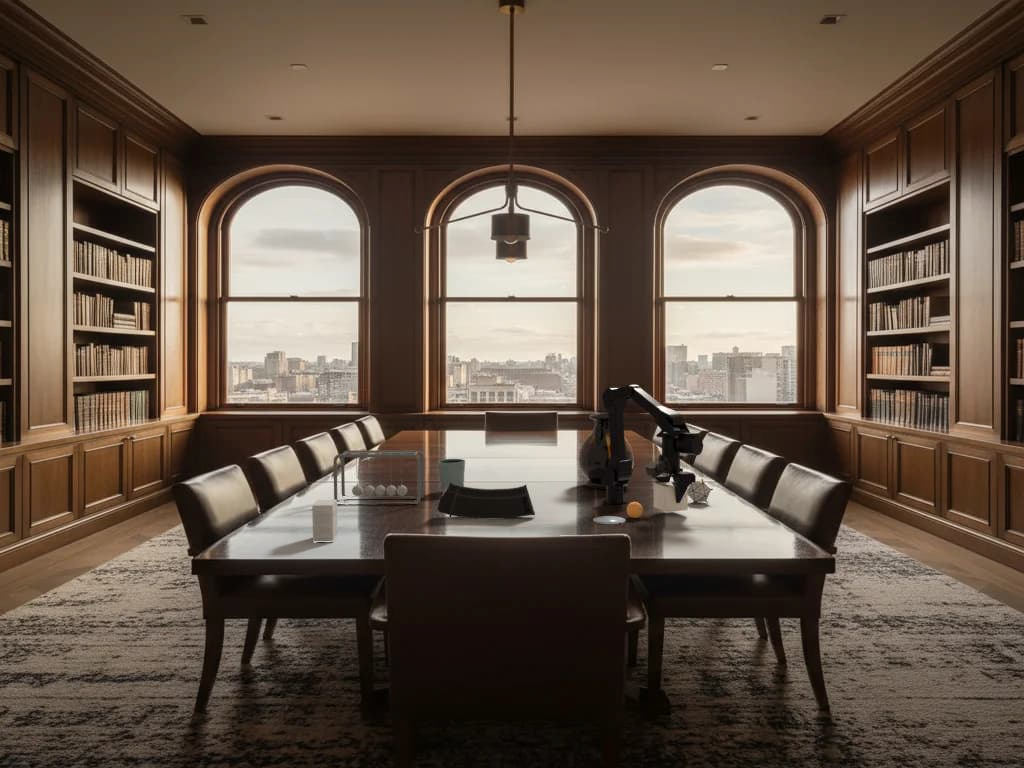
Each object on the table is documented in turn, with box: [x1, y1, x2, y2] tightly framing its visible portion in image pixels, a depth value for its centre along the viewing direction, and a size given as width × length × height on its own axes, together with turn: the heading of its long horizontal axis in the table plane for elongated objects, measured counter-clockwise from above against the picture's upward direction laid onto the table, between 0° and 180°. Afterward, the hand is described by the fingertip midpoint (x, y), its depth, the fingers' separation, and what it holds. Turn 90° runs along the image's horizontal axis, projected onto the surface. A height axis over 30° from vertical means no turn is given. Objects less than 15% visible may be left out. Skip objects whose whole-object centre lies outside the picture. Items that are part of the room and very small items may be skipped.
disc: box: [592, 515, 627, 525], centre depth 216 cm, size 10×10×1 cm
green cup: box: [437, 458, 466, 493], centre depth 263 cm, size 10×10×12 cm
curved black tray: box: [437, 482, 536, 519], centre depth 221 cm, size 17×3×30 cm
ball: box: [626, 501, 644, 519], centre depth 219 cm, size 5×5×5 cm
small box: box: [311, 499, 338, 542], centre depth 195 cm, size 8×6×10 cm
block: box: [653, 481, 689, 513], centre depth 224 cm, size 8×8×8 cm
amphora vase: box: [578, 413, 635, 490], centre depth 273 cm, size 22×22×28 cm
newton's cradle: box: [333, 449, 426, 505], centre depth 246 cm, size 30×10×18 cm, turn 88°
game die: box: [688, 478, 714, 505], centre depth 241 cm, size 9×8×10 cm
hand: (670, 500), depth 224 cm, fingers closed on block, 8 cm apart
